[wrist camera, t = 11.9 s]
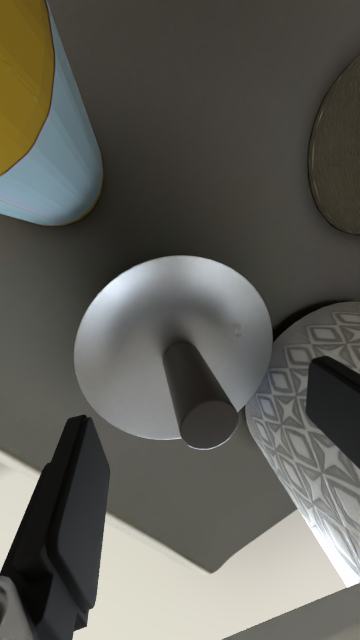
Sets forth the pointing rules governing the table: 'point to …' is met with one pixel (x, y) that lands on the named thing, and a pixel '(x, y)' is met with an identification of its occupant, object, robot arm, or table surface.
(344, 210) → the pot
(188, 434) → the lid
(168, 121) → the table surface
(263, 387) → the planter
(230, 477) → the table surface
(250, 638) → the robot arm
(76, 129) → the bottle
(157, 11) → the table surface
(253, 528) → the table surface
